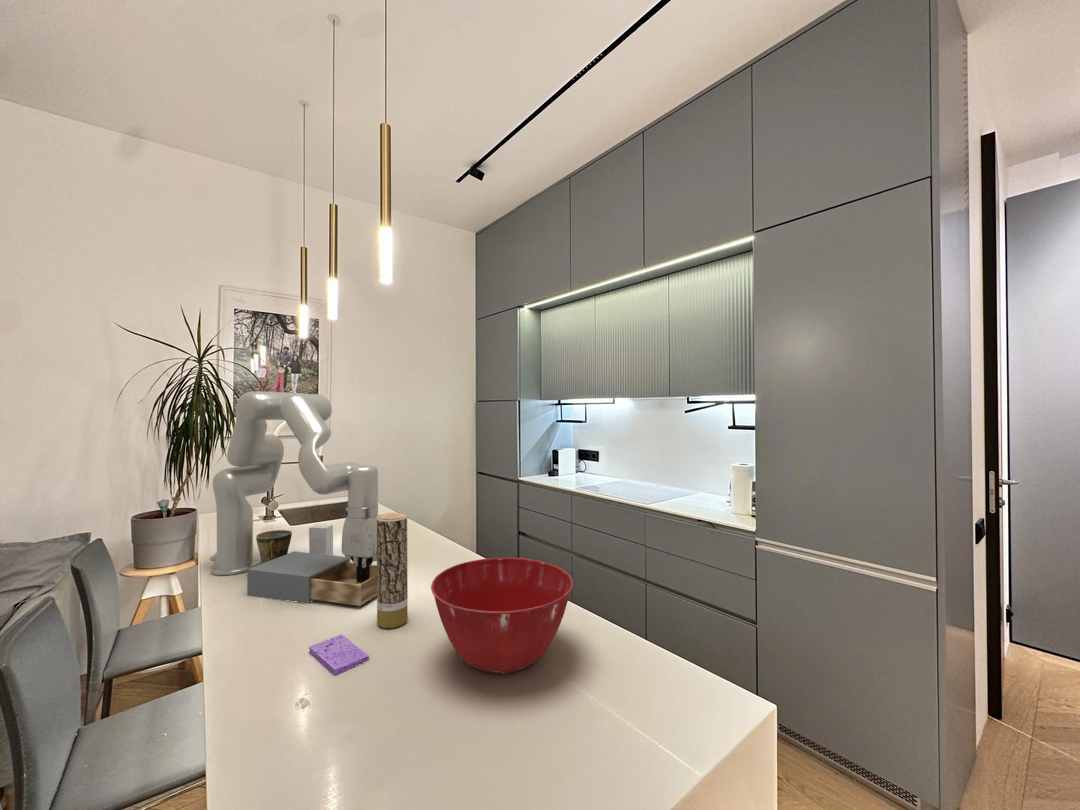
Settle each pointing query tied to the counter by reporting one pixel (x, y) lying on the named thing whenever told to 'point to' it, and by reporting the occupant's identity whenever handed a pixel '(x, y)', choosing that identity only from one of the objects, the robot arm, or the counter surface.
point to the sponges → (338, 654)
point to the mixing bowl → (501, 610)
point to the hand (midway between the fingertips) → (363, 580)
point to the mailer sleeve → (289, 575)
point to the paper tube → (392, 570)
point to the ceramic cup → (273, 544)
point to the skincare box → (321, 539)
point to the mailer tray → (343, 585)
